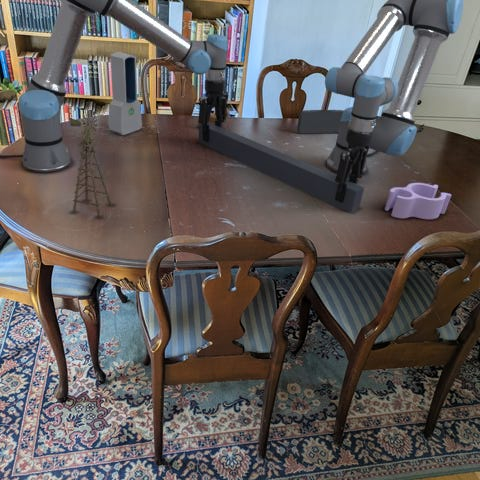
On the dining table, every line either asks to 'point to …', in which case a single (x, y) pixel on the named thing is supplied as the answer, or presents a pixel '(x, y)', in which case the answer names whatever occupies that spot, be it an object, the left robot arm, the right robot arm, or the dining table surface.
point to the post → (282, 167)
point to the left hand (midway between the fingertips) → (211, 138)
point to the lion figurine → (213, 117)
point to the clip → (417, 201)
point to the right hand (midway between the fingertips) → (344, 197)
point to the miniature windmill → (86, 142)
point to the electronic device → (124, 95)
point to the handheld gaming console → (319, 121)
